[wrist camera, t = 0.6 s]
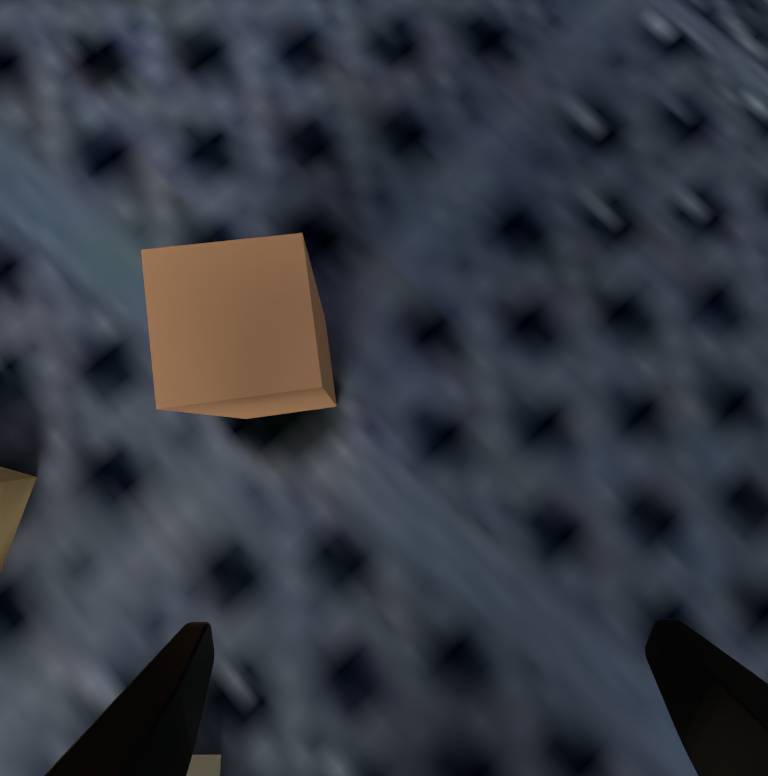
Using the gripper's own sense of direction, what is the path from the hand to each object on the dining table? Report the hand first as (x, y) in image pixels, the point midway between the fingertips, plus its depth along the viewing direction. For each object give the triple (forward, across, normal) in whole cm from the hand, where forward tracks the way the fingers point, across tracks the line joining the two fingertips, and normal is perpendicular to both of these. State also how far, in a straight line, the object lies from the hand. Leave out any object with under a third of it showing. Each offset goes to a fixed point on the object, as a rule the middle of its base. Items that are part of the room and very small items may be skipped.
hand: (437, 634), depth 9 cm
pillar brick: (+15, +5, 0) cm, 16 cm away
